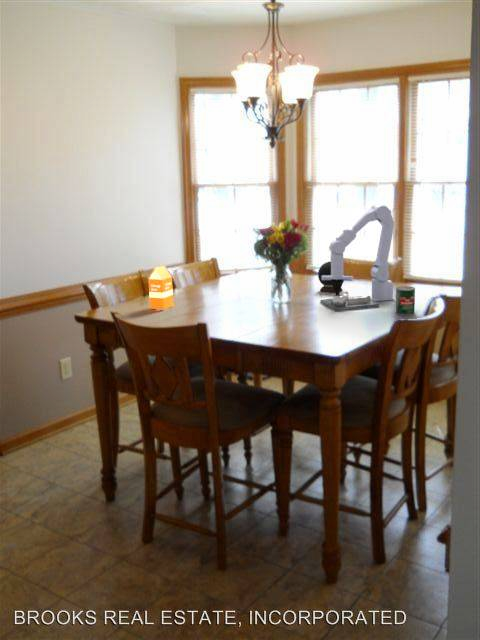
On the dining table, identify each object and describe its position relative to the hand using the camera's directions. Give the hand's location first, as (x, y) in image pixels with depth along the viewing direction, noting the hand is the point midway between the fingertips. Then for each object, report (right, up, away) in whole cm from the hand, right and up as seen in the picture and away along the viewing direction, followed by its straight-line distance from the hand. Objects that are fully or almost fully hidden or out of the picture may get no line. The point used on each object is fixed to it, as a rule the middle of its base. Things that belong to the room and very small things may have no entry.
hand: (337, 295), depth 323 cm
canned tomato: (+26, -9, -26) cm, 37 cm away
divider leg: (+3, -2, -4) cm, 5 cm away
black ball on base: (+1, +3, +28) cm, 28 cm away
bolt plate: (+5, -4, -6) cm, 9 cm away
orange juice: (-82, -6, +3) cm, 82 cm away
